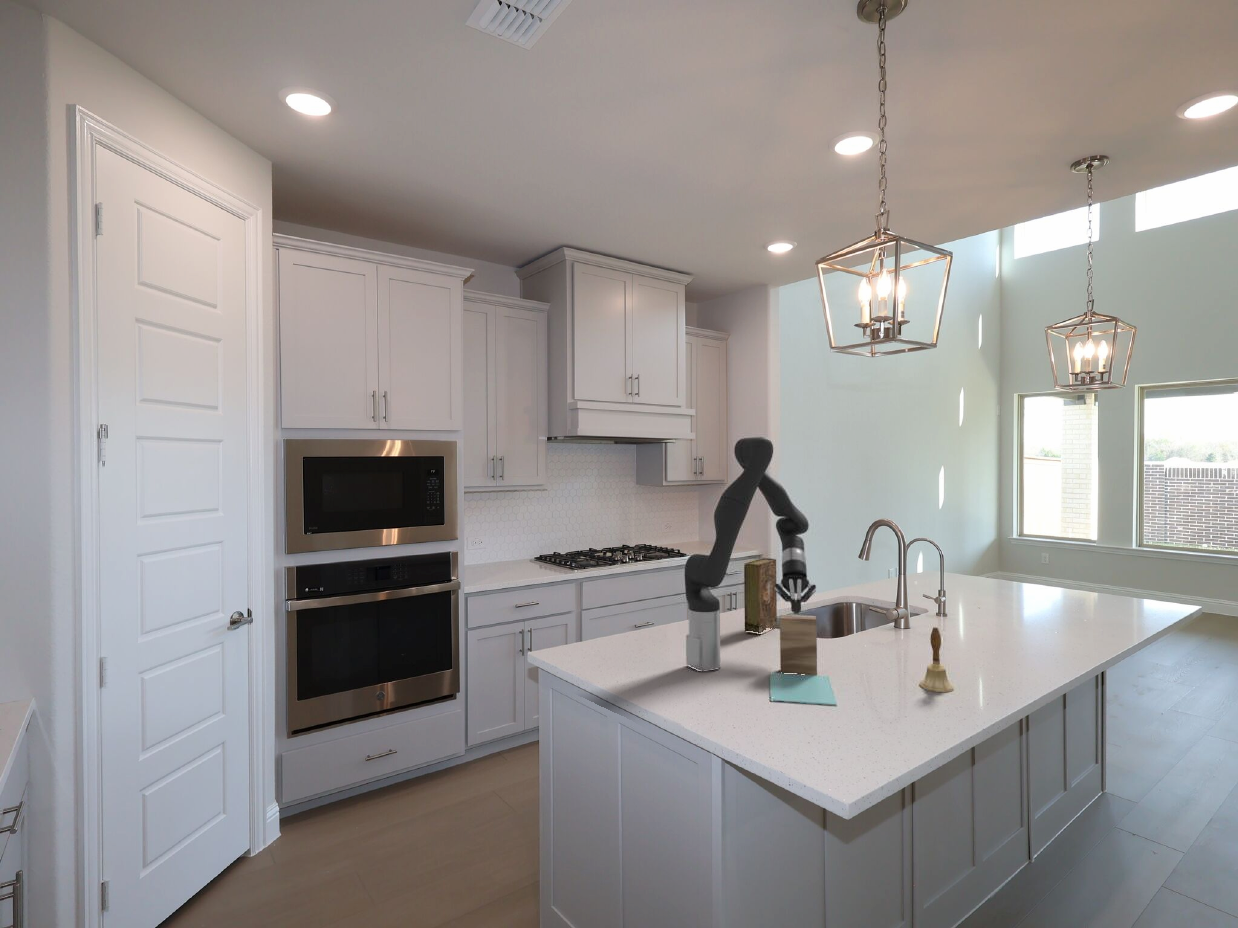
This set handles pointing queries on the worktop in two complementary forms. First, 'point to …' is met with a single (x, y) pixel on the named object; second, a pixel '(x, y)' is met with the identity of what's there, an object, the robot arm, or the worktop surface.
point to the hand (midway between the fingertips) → (796, 612)
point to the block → (798, 644)
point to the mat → (801, 689)
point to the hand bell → (936, 668)
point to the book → (760, 595)
